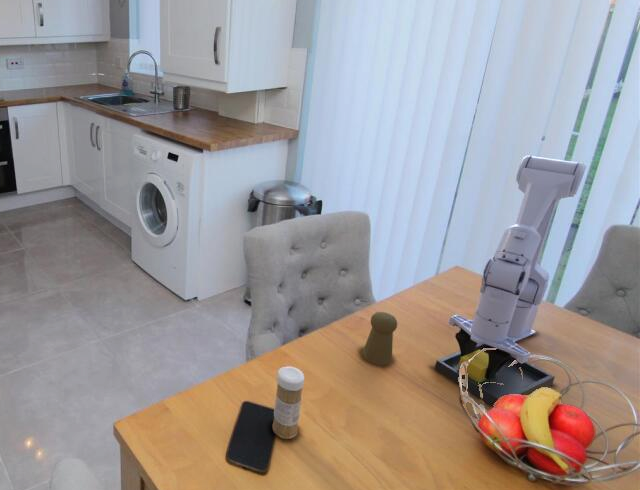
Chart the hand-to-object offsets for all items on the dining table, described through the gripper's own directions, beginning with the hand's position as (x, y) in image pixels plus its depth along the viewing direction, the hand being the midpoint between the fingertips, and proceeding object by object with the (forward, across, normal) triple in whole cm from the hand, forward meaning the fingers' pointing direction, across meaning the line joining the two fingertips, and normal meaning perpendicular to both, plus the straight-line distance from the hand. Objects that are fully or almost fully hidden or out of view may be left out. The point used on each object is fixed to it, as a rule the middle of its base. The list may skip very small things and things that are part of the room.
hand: (477, 369), depth 101 cm
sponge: (+1, 0, 0) cm, 1 cm away
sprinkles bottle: (+2, -6, -46) cm, 46 cm away
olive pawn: (+2, -14, -13) cm, 19 cm away
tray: (+2, +1, +3) cm, 4 cm away
